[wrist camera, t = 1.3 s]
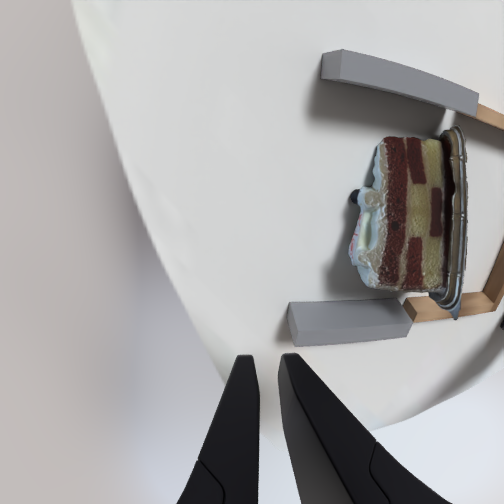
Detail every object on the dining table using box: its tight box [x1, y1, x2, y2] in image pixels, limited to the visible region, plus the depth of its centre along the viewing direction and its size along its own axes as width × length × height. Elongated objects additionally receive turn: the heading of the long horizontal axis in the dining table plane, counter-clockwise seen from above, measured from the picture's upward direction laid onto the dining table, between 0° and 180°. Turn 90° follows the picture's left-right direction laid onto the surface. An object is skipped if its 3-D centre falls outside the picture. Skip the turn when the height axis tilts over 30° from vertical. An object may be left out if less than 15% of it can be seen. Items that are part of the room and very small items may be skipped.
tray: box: [403, 103, 504, 323], centre depth 20 cm, size 11×17×2 cm, turn 176°
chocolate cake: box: [348, 125, 468, 320], centre depth 19 cm, size 10×7×12 cm
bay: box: [287, 49, 479, 347], centre depth 18 cm, size 9×18×3 cm, turn 176°
